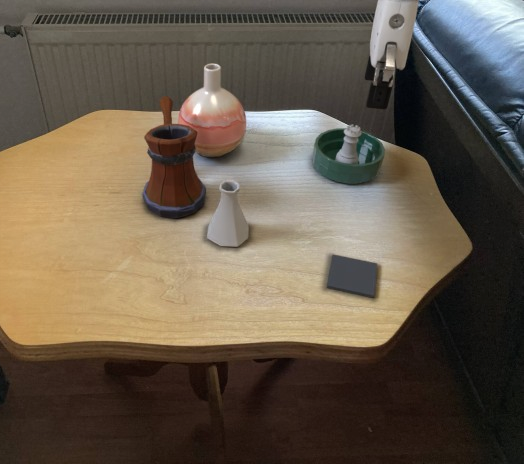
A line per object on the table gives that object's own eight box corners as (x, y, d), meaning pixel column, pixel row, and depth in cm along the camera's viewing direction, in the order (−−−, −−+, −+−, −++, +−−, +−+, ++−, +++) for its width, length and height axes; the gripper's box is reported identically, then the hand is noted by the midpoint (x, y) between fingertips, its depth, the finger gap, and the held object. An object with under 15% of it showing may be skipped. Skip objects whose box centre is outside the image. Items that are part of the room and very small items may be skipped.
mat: (376, 265, 81) (377, 263, 81) (373, 298, 76) (374, 295, 76) (332, 256, 82) (332, 254, 82) (326, 288, 77) (327, 285, 77)
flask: (199, 241, 85) (199, 193, 78) (216, 215, 90) (216, 168, 83) (240, 253, 83) (243, 205, 76) (255, 225, 88) (259, 178, 81)
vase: (248, 166, 101) (254, 82, 89) (179, 168, 100) (175, 84, 88) (241, 130, 111) (245, 50, 99) (178, 132, 110) (174, 52, 98)
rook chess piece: (357, 158, 102) (365, 122, 97) (357, 171, 99) (366, 135, 94) (334, 156, 103) (341, 120, 98) (334, 168, 100) (341, 132, 94)
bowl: (381, 153, 105) (386, 134, 102) (377, 191, 95) (383, 171, 92) (316, 142, 107) (319, 124, 104) (307, 178, 98) (310, 159, 95)
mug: (140, 163, 101) (133, 93, 91) (198, 159, 103) (197, 89, 93) (144, 222, 88) (135, 148, 78) (210, 217, 89) (210, 143, 79)
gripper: (436, 4, 66) (402, 122, 77) (422, -34, 78) (394, 72, 90) (376, 0, 67) (351, 117, 78) (372, -37, 79) (351, 68, 91)
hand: (374, 93), depth 84 cm, fingers open, 9 cm apart
